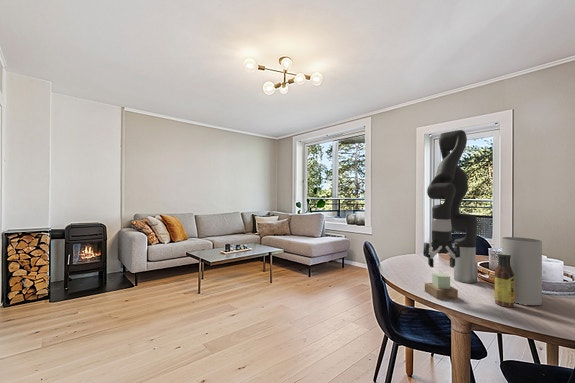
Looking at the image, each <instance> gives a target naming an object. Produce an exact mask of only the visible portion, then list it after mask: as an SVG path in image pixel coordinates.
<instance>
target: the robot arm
mask: <svg viewBox="0 0 575 383" xmlns="http://www.w3.org/2000/svg"><path fill="white" fill-rule="evenodd" d="M467 141H468V138H467V134H466V132H465V131H464V130H462V129H459V130H458V129H457V130H452V131H445V132H441V133H440V134H439V135H438V146H439V151H440V154H441V158H442V160H441V161H440V163H439V164H438V166H437V170H436V174H435V176H434V177H433V178H432V180H431V181H430V183H429V184H428V187H427V188H426V189H427V190H426V193H427V196H428V197H429V198H430V199H431V200H444V201H443V202H442V203H441V204H435V205H433V206H432V207H431V214H432V215H431V242H429V243H428V242H424V243H423V256H424V257H425V258H427V260H428V263H427V264H428V266H429V267H430V268H434V267H435V266H434V261H435V260H434V257H435V256H437V254H448V256H449V267H450V268H453V279H454V281H457V282H461V283H465V284H466V283H469V284H474V283H478V280H479V279H478V278H479V276H478V272H479V271H478V269H479V266H478V262H477V260H476V258H477V257H476V253H477V252H476V251H477V250H476V248H477V246H476V245H477V234H478V233H477V232H478V219H477V216H475V214H470V213H469V214H468V213H467V214H466V213H460V206H461V203H462V201H463V200H464V198H465V196H467V193H468V191H469V181H468V176H467V174H466V172H465V171H464V169H462V168H461V167H460V166H459V165H458V164H459V162H460V159H461V157H462V156H463V155H464V154H463V153H464V151H465V149H466V147H467ZM452 231H454V232H457V233H464V234H465V236H464V237H461V238H456V239H454V240H453V239H452V236H453V234H452ZM452 240H453V241H454V242H452ZM430 248H432V249H431V250H430ZM451 248H453V251H452V250H451Z"/></svg>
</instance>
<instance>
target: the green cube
mask: <svg viewBox="0 0 575 383" xmlns="http://www.w3.org/2000/svg"><path fill="white" fill-rule="evenodd" d="M431 277H432V279H431V280H432V281H431V283H432V285H434V286H435V287H437V288H442V289H450V286H451V276H449V275H448V274H446V273H443V272H432V274H431Z"/></svg>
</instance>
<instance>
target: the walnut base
mask: <svg viewBox="0 0 575 383" xmlns="http://www.w3.org/2000/svg"><path fill="white" fill-rule="evenodd" d="M424 292H425V293H427V295H430V296H431V297H433V298H434V299H436V300H444V299H445V300H448V299H449V300H455V299H456V300H458V298H459V297H458V295H459V294H458V292H459V289H457V288H455V287H453V286H451V285H450V289H442V288H437V287H435V286H434V285H432V282H425V283H424Z"/></svg>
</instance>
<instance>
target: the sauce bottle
mask: <svg viewBox="0 0 575 383" xmlns="http://www.w3.org/2000/svg"><path fill="white" fill-rule="evenodd" d="M497 258H498V262H497V266H496V267H495V269H494V303H495V304H497V305H499V306H500V305H501V306H500V307H506V308H513V307H514V306H515V303H514V302H515V277H514V273H513V271H512V268H511V266H510V258H511V255H510V254H505V253H502V252H499V253H497Z"/></svg>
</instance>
